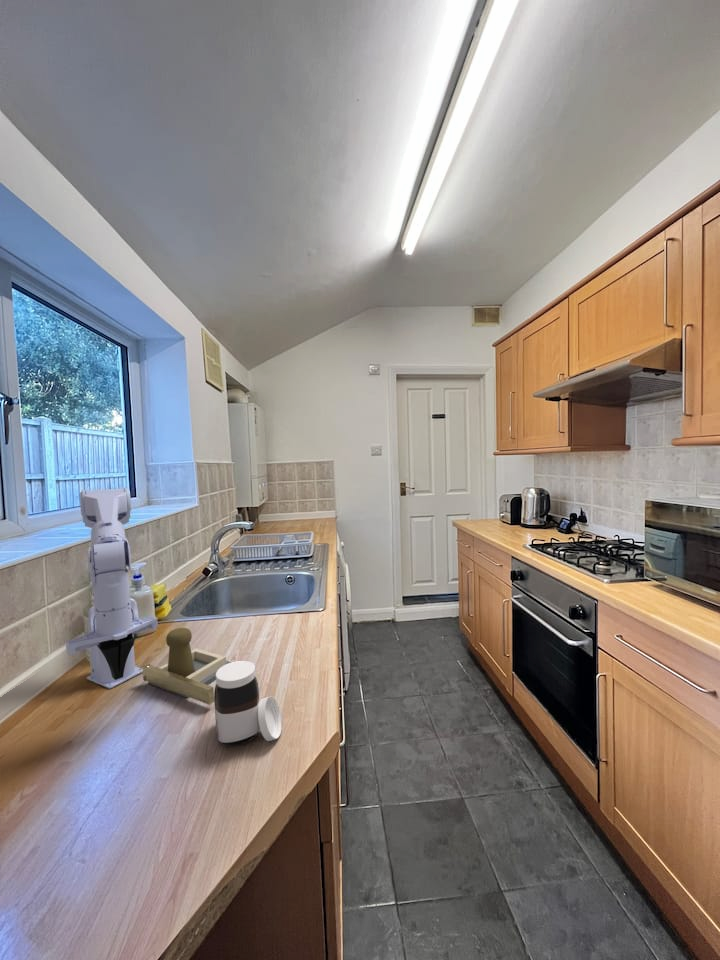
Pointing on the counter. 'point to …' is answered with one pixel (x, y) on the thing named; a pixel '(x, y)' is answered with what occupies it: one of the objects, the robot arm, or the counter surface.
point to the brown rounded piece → (180, 652)
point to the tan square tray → (202, 667)
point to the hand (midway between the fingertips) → (117, 676)
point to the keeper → (179, 684)
